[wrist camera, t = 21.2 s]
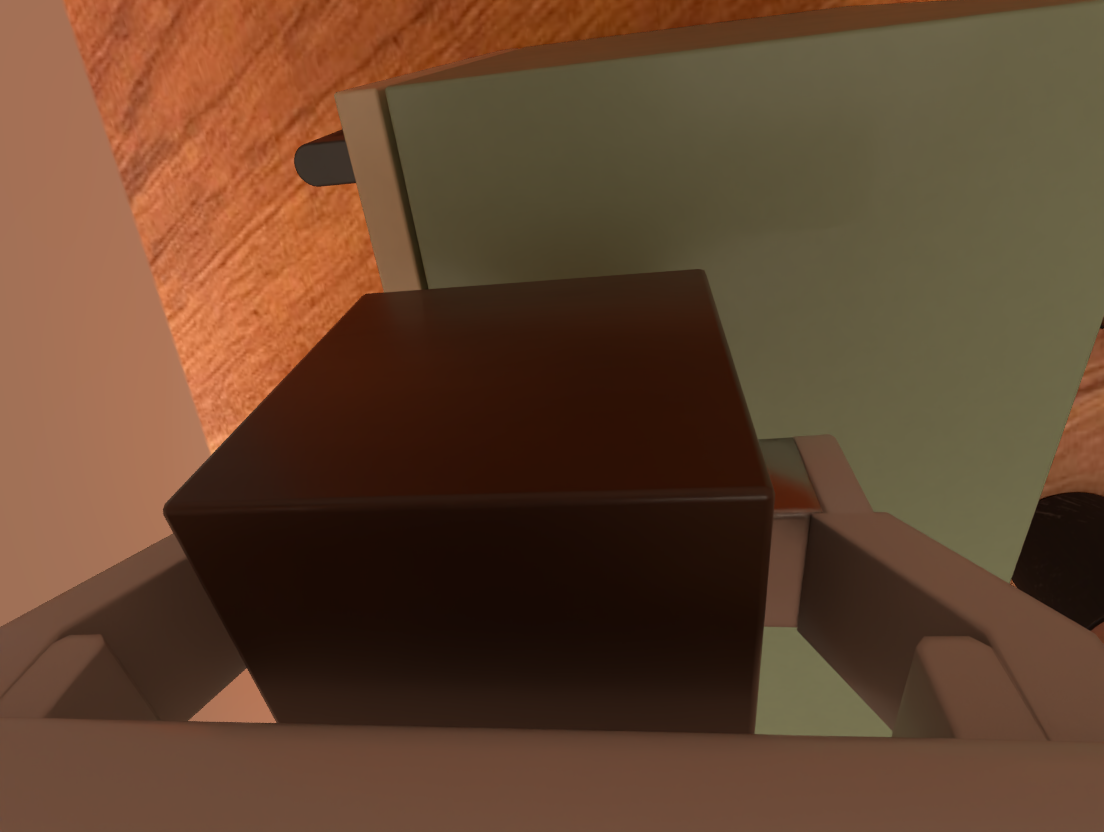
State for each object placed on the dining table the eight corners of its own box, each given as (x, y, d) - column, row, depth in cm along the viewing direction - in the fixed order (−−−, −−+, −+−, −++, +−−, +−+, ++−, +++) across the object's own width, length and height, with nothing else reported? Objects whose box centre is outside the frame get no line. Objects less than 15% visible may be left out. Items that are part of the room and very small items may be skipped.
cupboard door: (469, 479, 42) (367, 780, 26) (379, 65, 30) (70, 124, 13) (569, 476, 41) (531, 786, 25) (519, 47, 29) (376, 87, 12)
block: (431, 543, 12) (328, 824, 8) (361, 291, 10) (154, 509, 5) (702, 539, 11) (748, 845, 7) (705, 266, 9) (777, 492, 5)
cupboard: (573, 474, 41) (537, 790, 24) (523, 47, 29) (382, 87, 12) (800, 467, 39) (932, 805, 23) (849, 5, 27) (1223, -17, 10)
